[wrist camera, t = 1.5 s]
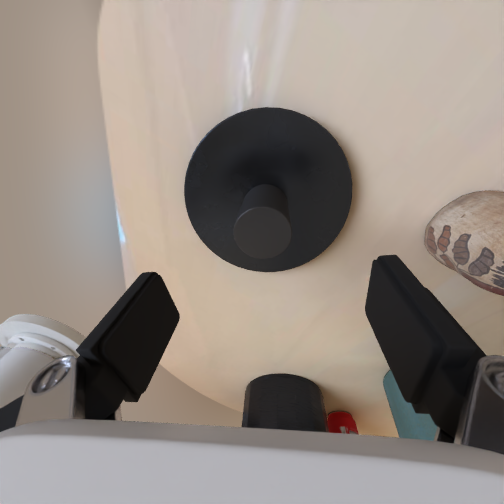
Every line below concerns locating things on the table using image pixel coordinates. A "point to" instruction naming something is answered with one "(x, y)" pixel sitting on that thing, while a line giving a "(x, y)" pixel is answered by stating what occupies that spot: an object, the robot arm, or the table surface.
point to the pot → (284, 404)
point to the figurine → (471, 238)
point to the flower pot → (407, 414)
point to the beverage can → (341, 423)
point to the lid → (268, 189)
